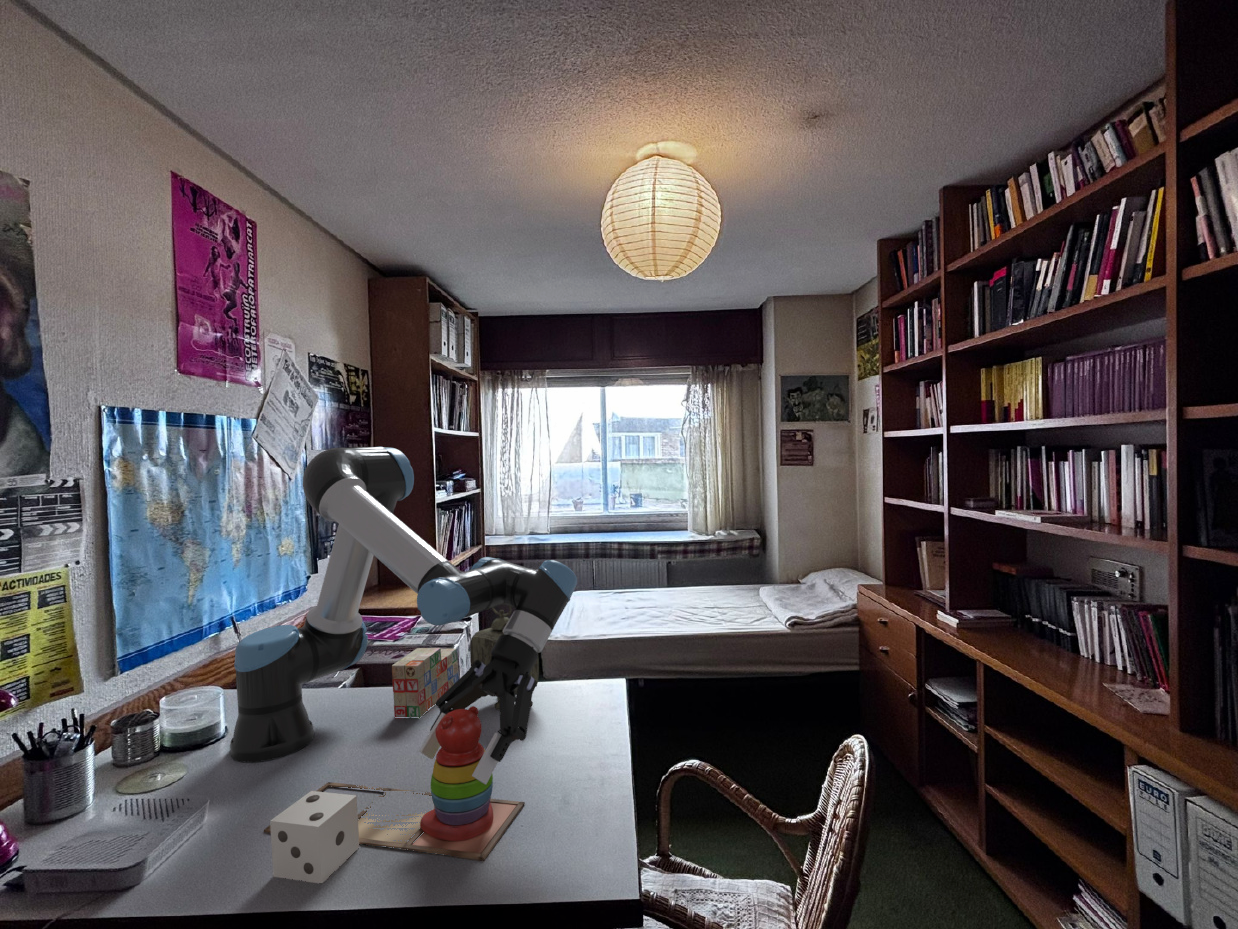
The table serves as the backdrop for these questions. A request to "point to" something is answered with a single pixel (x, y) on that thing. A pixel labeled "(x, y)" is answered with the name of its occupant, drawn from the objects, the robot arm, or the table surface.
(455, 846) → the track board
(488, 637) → the tabletop clock
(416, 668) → the stack of blocks
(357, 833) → the die
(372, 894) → the table surface
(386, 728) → the table surface
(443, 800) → the stacking bear
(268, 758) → the robot arm
